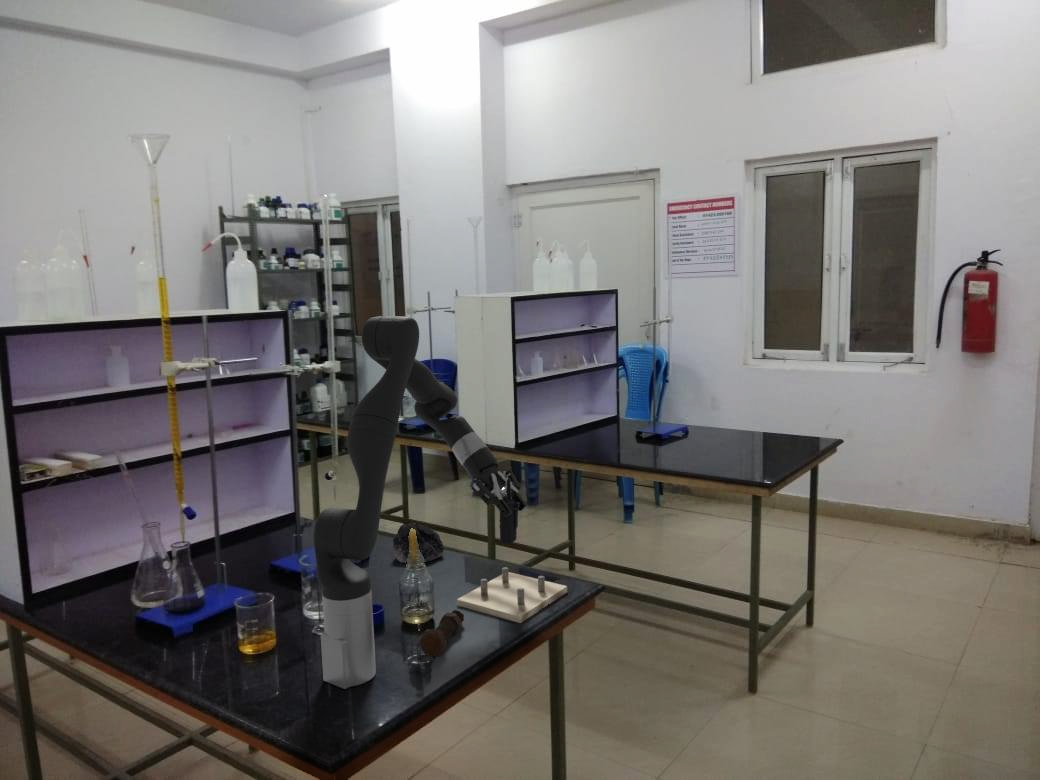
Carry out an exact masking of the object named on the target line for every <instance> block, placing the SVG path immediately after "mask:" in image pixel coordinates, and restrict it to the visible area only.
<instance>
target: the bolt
mask: <svg viewBox="0 0 1040 780" xmlns="http://www.w3.org/2000/svg"><path fill="white" fill-rule="evenodd" d="M464 621H465V615H464V613H462V612H461V611H460V610H456V609H453V610H452V611H451V612H445V613H444V614H443V616H442V617H441V619H440V621H439V623H438V625H437V627H436V628H435V629H430V628H427V629H426V630H424V632H423V633H422V635H421V637H420V639H419V641H418V644H419V647H420V649H421V651H422V653H424V654H425V655H426V656H431V657H440V655H441V654H442V653H443V651H444V650H445V648H446V645H448V642H447V640H448V639H449V637H451V636H456V635H457V634H458V633H459V631H460V629H461V628H462V625H463V622H464Z"/></svg>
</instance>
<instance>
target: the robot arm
mask: <svg viewBox="0 0 1040 780" xmlns="http://www.w3.org/2000/svg"><path fill="white" fill-rule="evenodd" d="M361 342H362V347H363V350H364V352H365V353H366V354H367V355H368V356H369V358H370V359H372V360H373V361H374V362H376V363H377V364H378V365H380V366H381V367H382V368H384V369H385V371H384V374H383V375H382V377H380V379H379V380H378V382H377V383H376V384H375V385H374V386H373V387H372V388H370V390H369V391H368V392H367V393H366V394H365V396H363V398H362V399H361V400H360V401H359V403H358V404H357V405H356V407H354V410H353V414H352V416H351V419H350V425H349V428H348V433H347V436H346V447H347V452H348V456H349V457H350V459H351V463H352V465H353V468H354V472H355V475H356V477H357V480H358V497H357V503H356V507H355V509H349V508H338V507H335V508H332V507H330V508H325V509H324V510H322V511H320V513H319V514H318V516H317V518H316V521H315V522H314V528H313V546H314V549H313V550H314V555H315V562H316V572H317V580H318V583H319V585H320V588H321V595H322V599H321V600H322V611H323V612H322V613H323V628H324V629H323V630H324V632H323V633H321V634H320V646H321V647H320V648H321V664H322V677H323V679H322V680H323V681H324V682H327V683H329V684H330V685H331V684H332V685H334V686H336V687H338V688H341V689H344V690H346V689H348V688H350V687H356V686H359V685H362V684H365V683H368V682H369V681H370V680H372V679H373V678H374V677H375V675H376V673H377V670H376V669H377V667H376V650H375V649H376V648H375V633H374V632H375V631H374V615H373V613H374V612H373V594H372V579H371V575H370V574H369V572H367V570H365V569H363V568H361V567H359V566H358V565H356V564H355V563H353V561H352V560H356V561H357V560H358V561H359V560H360V561H363V560H366V559H368V558H369V557H370V556H371V554H372V552H373V551H374V549H375V546H376V543H377V539H378V534H379V528H380V527H379V526H380V521H381V520H380V519H381V513H382V505H383V498H384V497H383V496H384V489H385V485H386V484H385V483H386V479H387V473H388V471H389V470H388V469H389V464H390V460H391V456H392V451H393V448H394V444H395V439H396V436H397V430H398V426H399V421H400V415H401V409H402V406H403V401H404V397H405V391H406V390H407V392H408V393H409V395H410V396H411V397H412V398H413V400H415V403H414V405H413V407H414V412H415V414H416V416H417V417H418V418H419V419H420V420H421V421H423V422H424V423H425V424H427V425H428V426H429V427H431V428H432V429H433V430H434V431H436V432H437V433H438V434H439V435H440V436H441V437H442V439H443V440H444V441H445V442H446V444H447V445H448V447H449V448H450V449H451V451H452V452H453V454H454V456H455V458H456V460H457V461H458V462H459V464H461V466H462V468H464V470H465V471H466V473H467V474H468V475H469V477H470V478H471V480H473V481H475V482H474V483H473V484H472V485H471V486H470V487H471V489H472V491H473V492H475V494H476V495H477V496H478V497H479V498H480V499H481V501H483V502H484V503H485V504H486V505H487V506H490V505H492V506H496V509H498V512H499V513H500V512H501V513H502V515H504V517H508V516H509V515H510V514H511V513H512V510H511V509H510V508H509V506H508V505H507V504H506V502H505V501H504V500H503V497H502V495H501V494H505V496H507V479H508V478H509V479H510V486H511V499H513V500H515V501H516V503H517V502H520V507H519V510H518V512H519V511H520V512H521V511H523V510H525V509H526V507H527V504H526V501H525V500H524V499H523V497H522V496H521V495H520V494H519V491H520V490H521V489H522V486H521V484H520V483H519V481H518V479H517V477H516V476H515V474H514V472H513V470H512V469H511V468H508V469H507V470H502V469H501V468H500V467H499V466H498V458H496V456H495V455H494V454H493V452H492V451H491V449H490V448H489V447H488V446H487V443H485V441H483V439H482V438H481V437H480V436H479V435H478V434H477V432H476V431H475V430H474V429H473V428H472V426H471V425H470V424H469V422H468V421H467V420H466V418H465V417H463V416H461V415H457V416H454V417H452V418H449V419H446V420H441V419H442V418H444V417H445V416H446V415H447V414H449V413H450V412H451V411H452V410H454V409H455V408H456V406H457V403H458V397H457V394H456V393H455V391H454V390H453V389H452V388H451V387H449V386H448V385H447V384H445V383H443V382H441V381H439V380H438V379H437V378H436V376H435V375H434V373H433V372H432V370H431V369H430V368H429V367H428V366H427V365H426V364H425V363H423V362H421V361H420V360H418V359H417V358H416V356H417V352H418V348H419V343H420V328H419V324H418V322H417V320H416V319H415V318H413V317H410V316H401V315H400V316H399V315H398V316H396V315H395V316H394V315H391V316H390V315H386V316H384V315H383V316H381V315H379V316H374V317H370V318H369V319H367V320H366V321H365V322H364V325H363V327H362V330H361Z"/></svg>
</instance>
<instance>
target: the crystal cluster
mask: <svg viewBox="0 0 1040 780" xmlns="http://www.w3.org/2000/svg"><path fill="white" fill-rule="evenodd" d="M411 528H413V529H415V530H416V536H417V541H418V544H419V550H420V552H421V553H422V555H423V557H424V559H425V561H426V563H428V562H431V561H433V560H436V559H438V558H441V557H442V556H443V555H444V550H445V549H444V544H443V541H442V540H441V537H440V535H439V534H438V533H437V532H436V531H435V530H434V529H432V528H429V526H426V525H421V524H418V523H417V524H416V523H414V522H412V523H408V524H401V526H399V528H398V530H397V533H396V534H394V536H393V537H394V538H393V540H392V542H393V555H394V556H395V558H396V560H397V561H398V562H400V563H404V564H407V563H406V561H407V558H408V554H409V541H408V536H409V532H410V529H411Z"/></svg>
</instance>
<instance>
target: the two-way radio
mask: <svg viewBox="0 0 1040 780" xmlns="http://www.w3.org/2000/svg"><path fill="white" fill-rule="evenodd" d="M506 485H507V495H503V497H502V500H504V501H505V502H506V504H507V505H508V506H509V508H510V509H511V510H512V513H511V514H510V515H509V516H508V517H504V515H502V513H501V512H500V511H499V541H500V543H501V544H503V545H504V544H505V545H510V544H513V543H514V542H516V540H517V533H518V532H517V528H518V527H519V526H518V524H519V520H518V519H519V518H518V517H519V507H520V502H517V503H516V501H515V500H513V499H512V498H511V486H510V479H509V478H508V479H507V484H506Z"/></svg>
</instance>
